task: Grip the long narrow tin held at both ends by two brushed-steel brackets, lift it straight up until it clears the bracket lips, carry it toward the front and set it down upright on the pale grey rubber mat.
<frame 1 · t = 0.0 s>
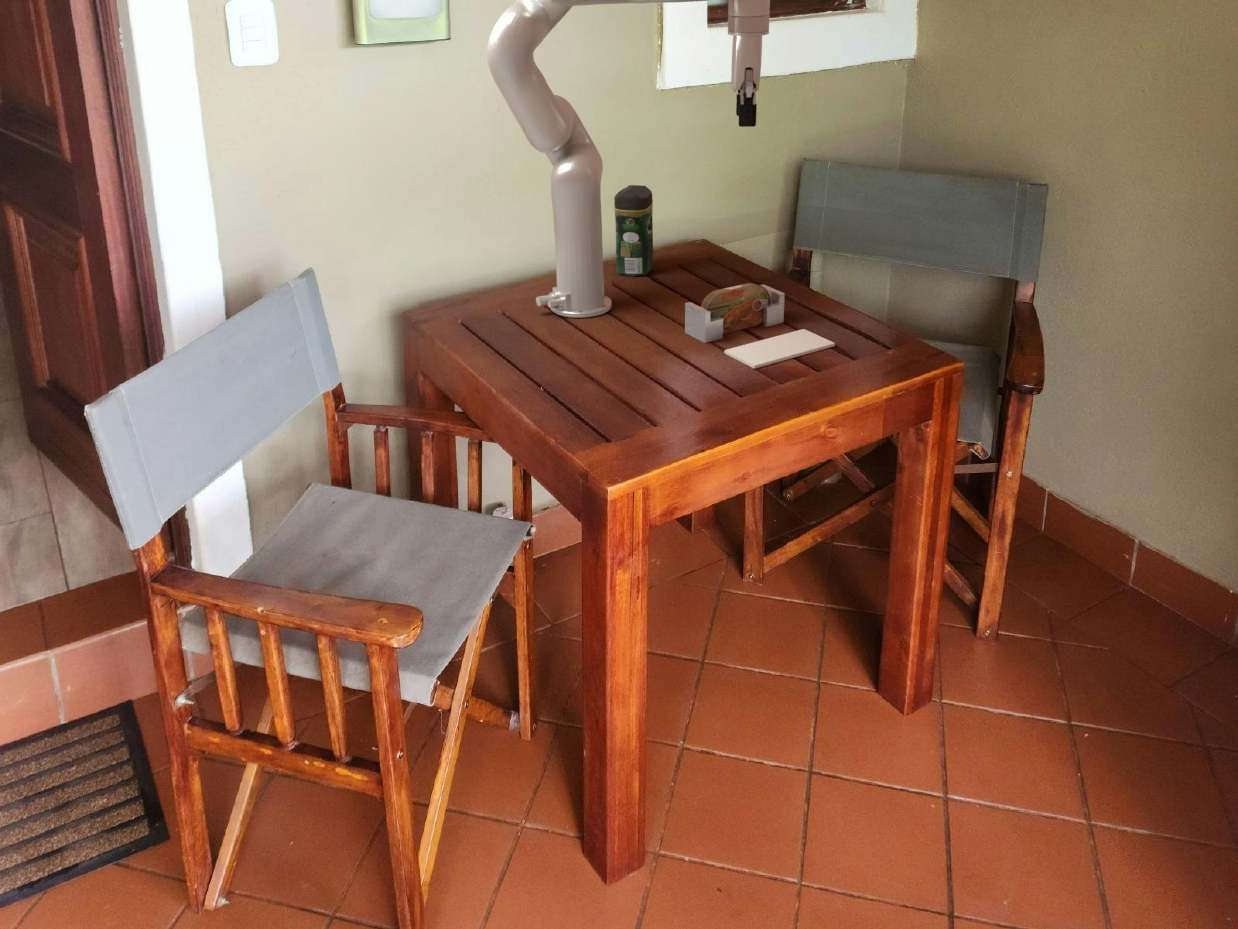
hand: (745, 120, 223), 37 cm above the table, tool pointing down, fingers open, 9 cm apart
end brackets: (734, 327, 230), on the table
mat: (779, 349, 219), on the table
coffee jar: (634, 271, 262), on the table
tin: (734, 328, 230), on the table
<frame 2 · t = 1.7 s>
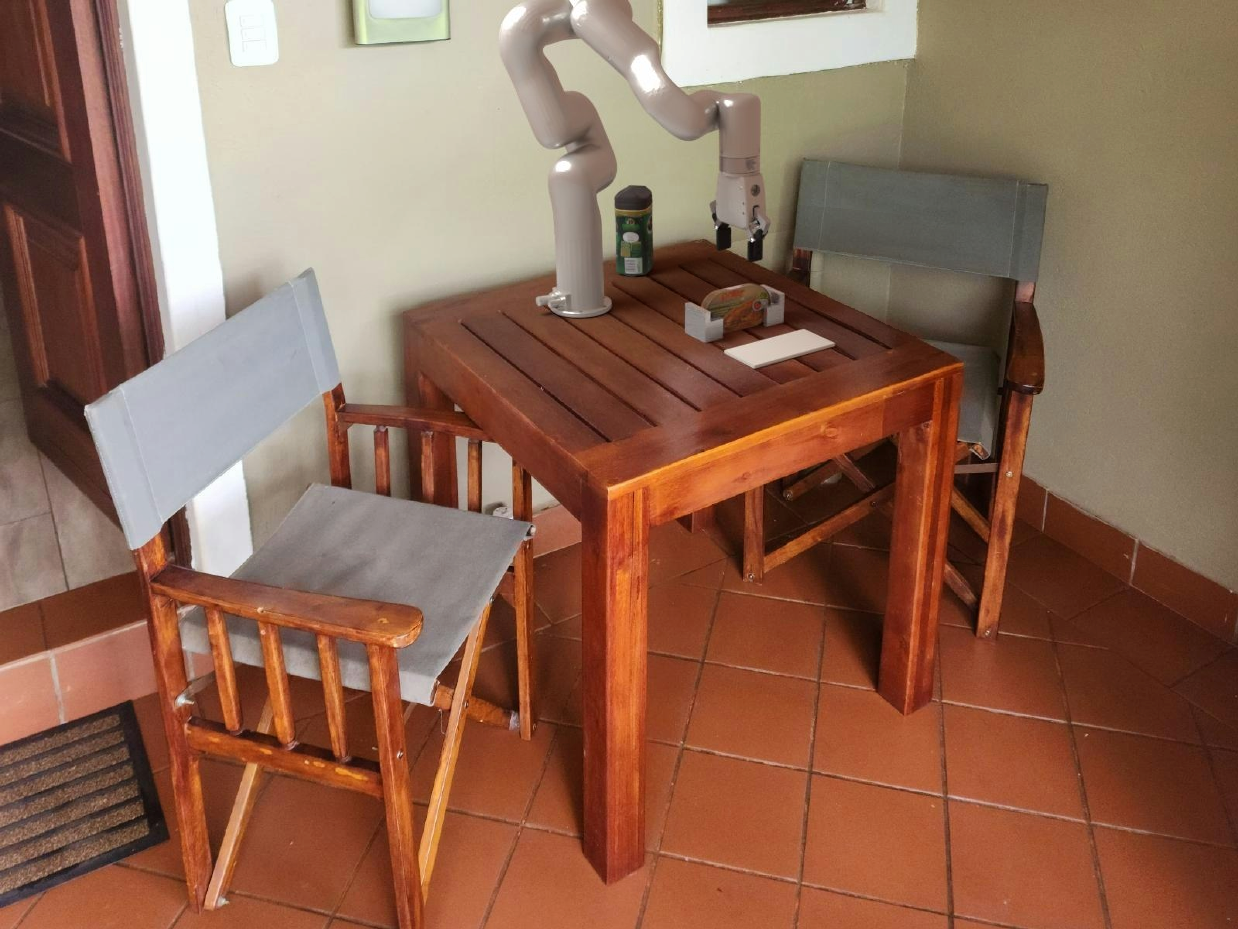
hand: (739, 254, 223), 15 cm above the table, tool pointing down, fingers open, 9 cm apart
nothing on the table moved.
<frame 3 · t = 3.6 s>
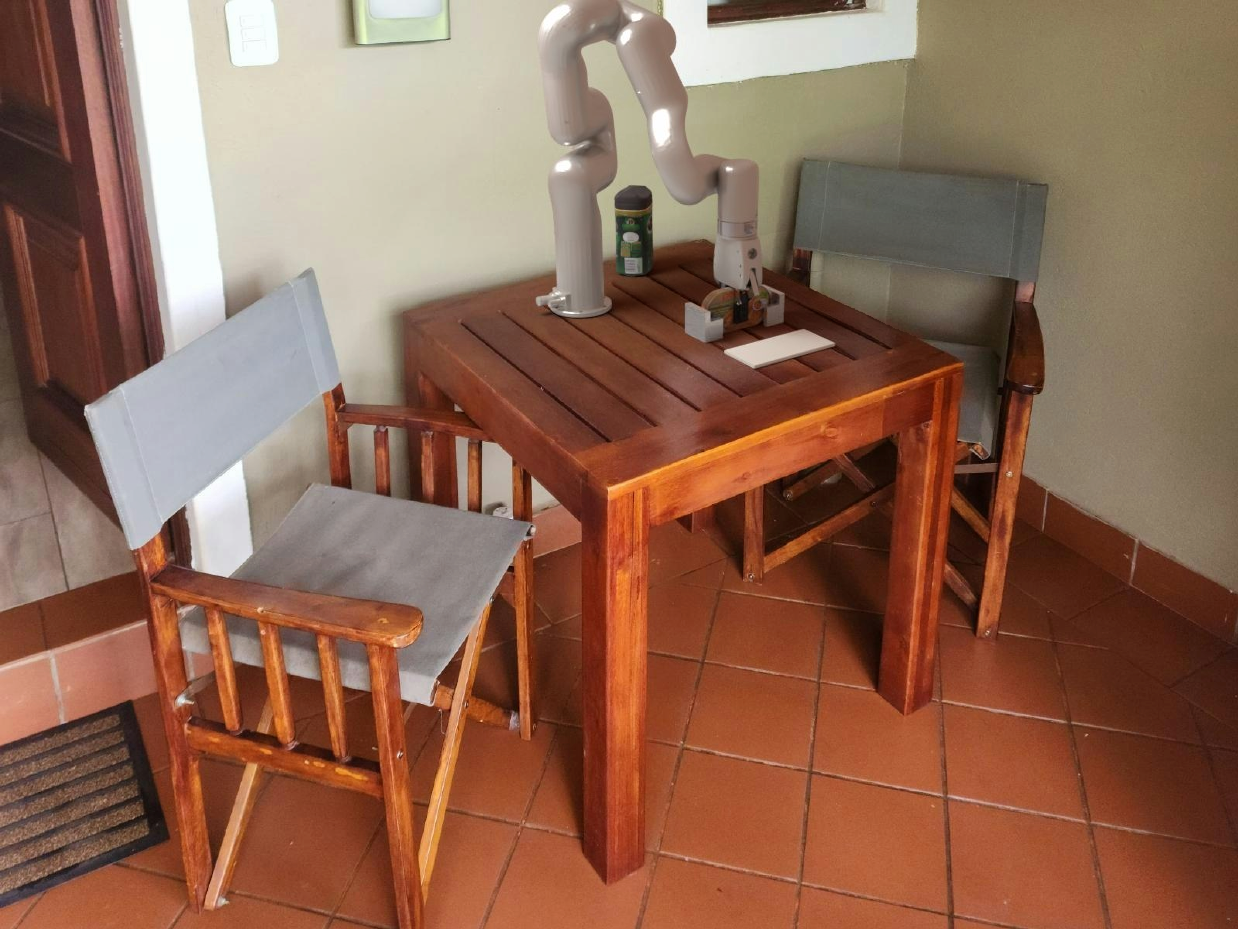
hand: (735, 318, 229), 2 cm above the table, tool pointing down, fingers closed on tin, 2 cm apart
tin: (734, 327, 230), on the table, touching gripper
everything else where it was.
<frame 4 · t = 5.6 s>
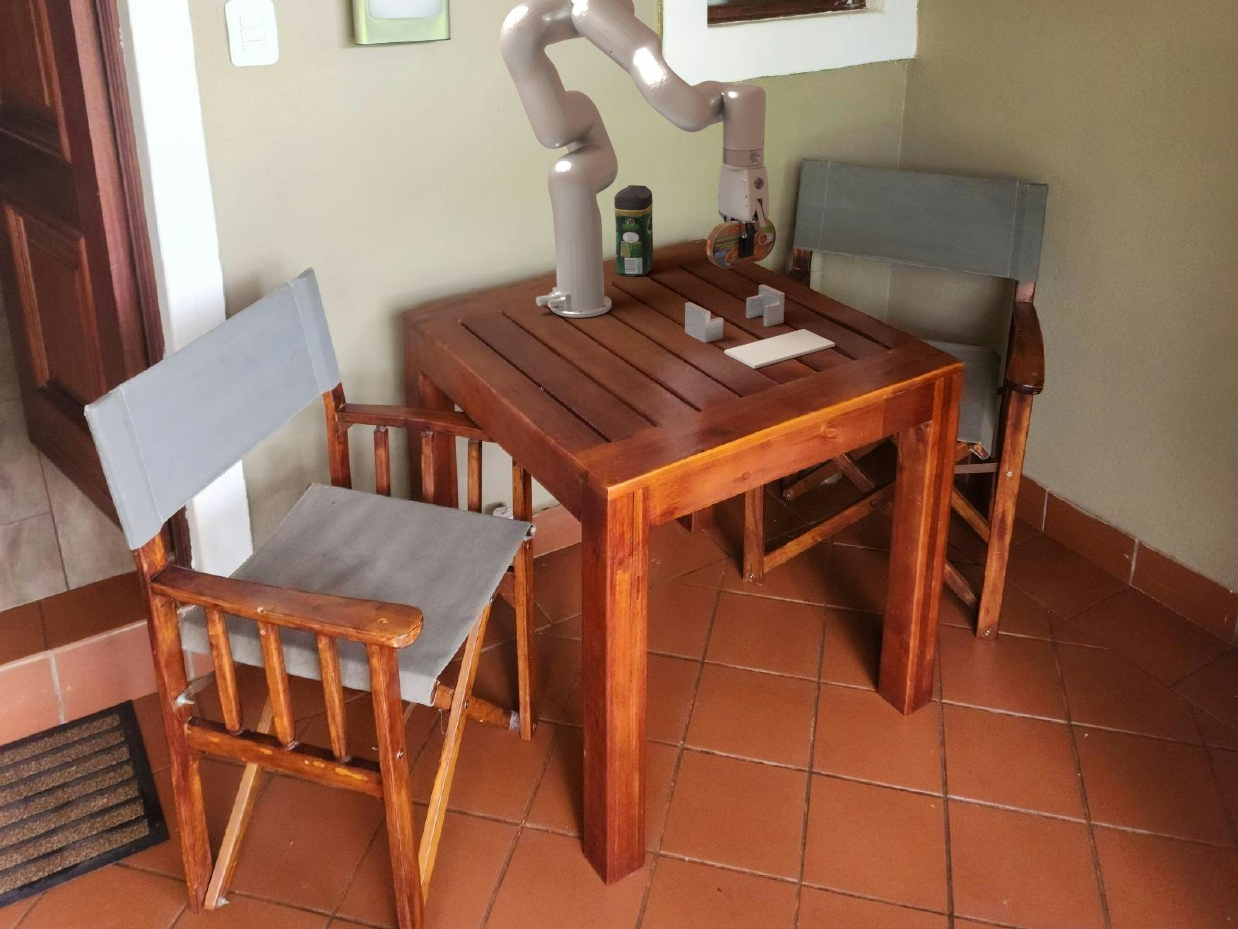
hand: (740, 253, 222), 15 cm above the table, tool pointing down, fingers closed on tin, 2 cm apart
tin: (739, 263, 223), point 13 cm above the table, touching gripper
everything else where it was.
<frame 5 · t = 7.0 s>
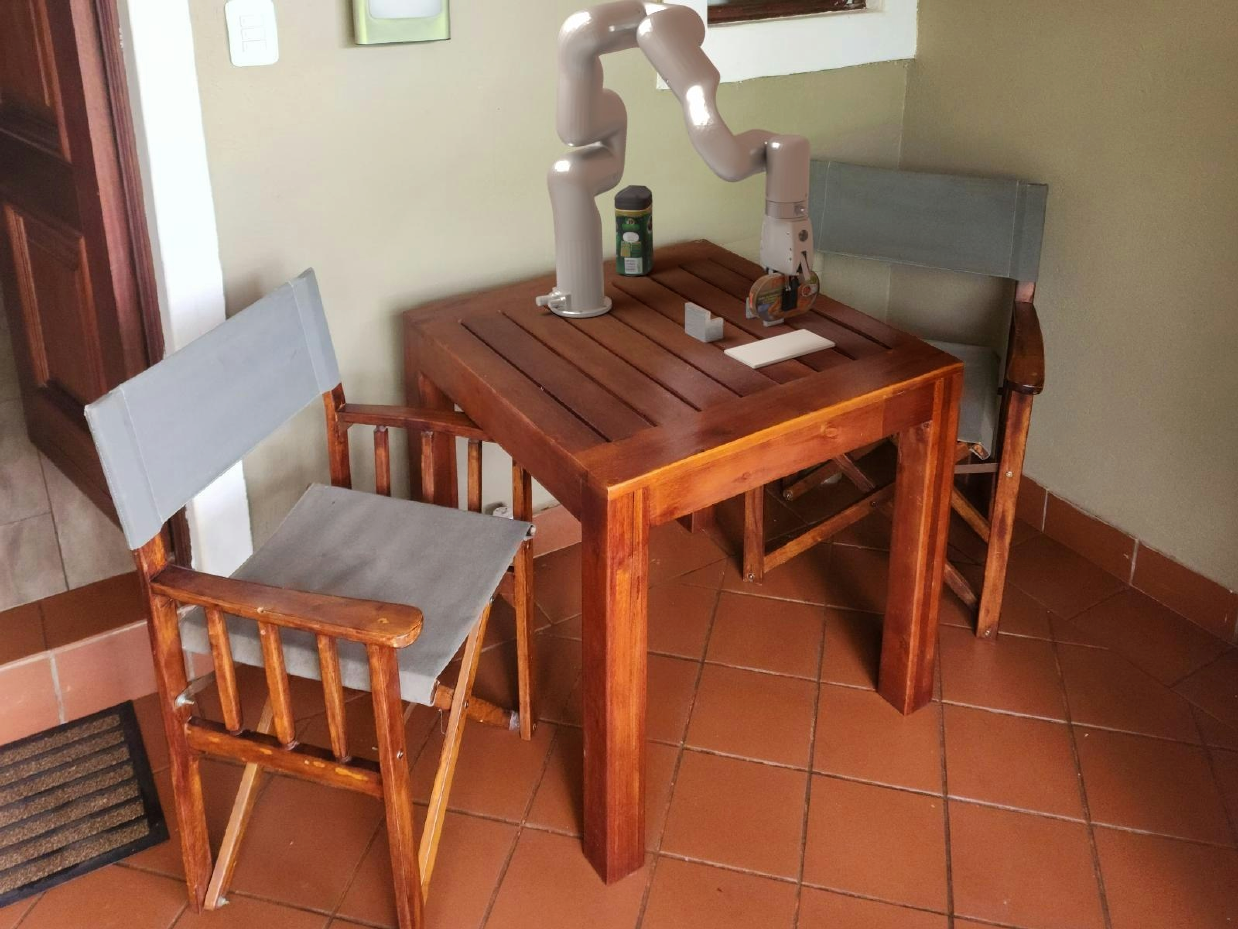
hand: (783, 306, 215), 9 cm above the table, tool pointing down, fingers closed on tin, 2 cm apart
tin: (782, 316, 216), point 7 cm above the table, touching gripper
everything else where it was.
when the fingers open (3 cm above the table, at t = 8.0 s): tin stays where it is, resting on mat.
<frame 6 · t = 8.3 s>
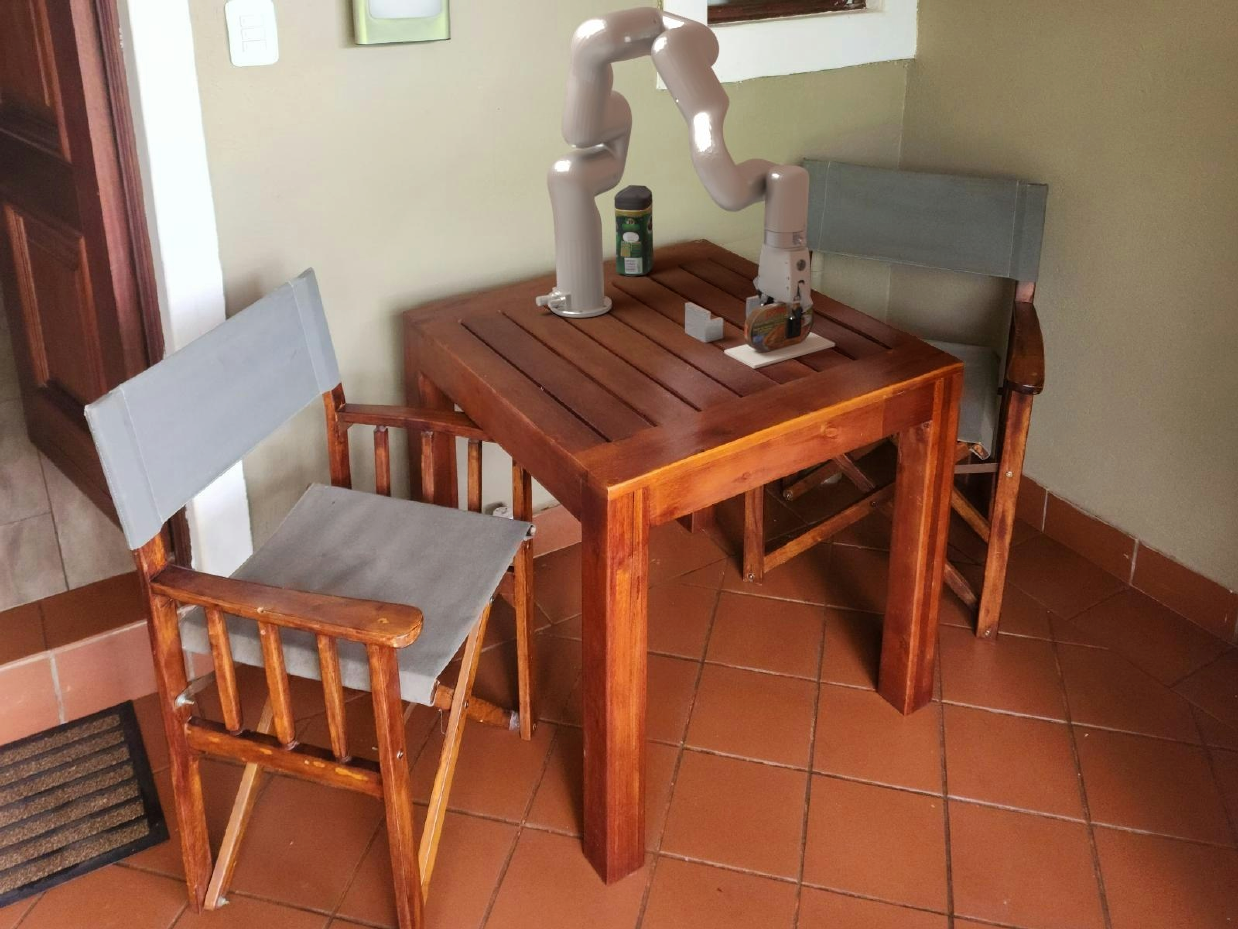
hand: (780, 330, 217), 4 cm above the table, tool pointing down, fingers open, 6 cm apart
tin: (777, 346, 219), resting on mat
everything else where it was.
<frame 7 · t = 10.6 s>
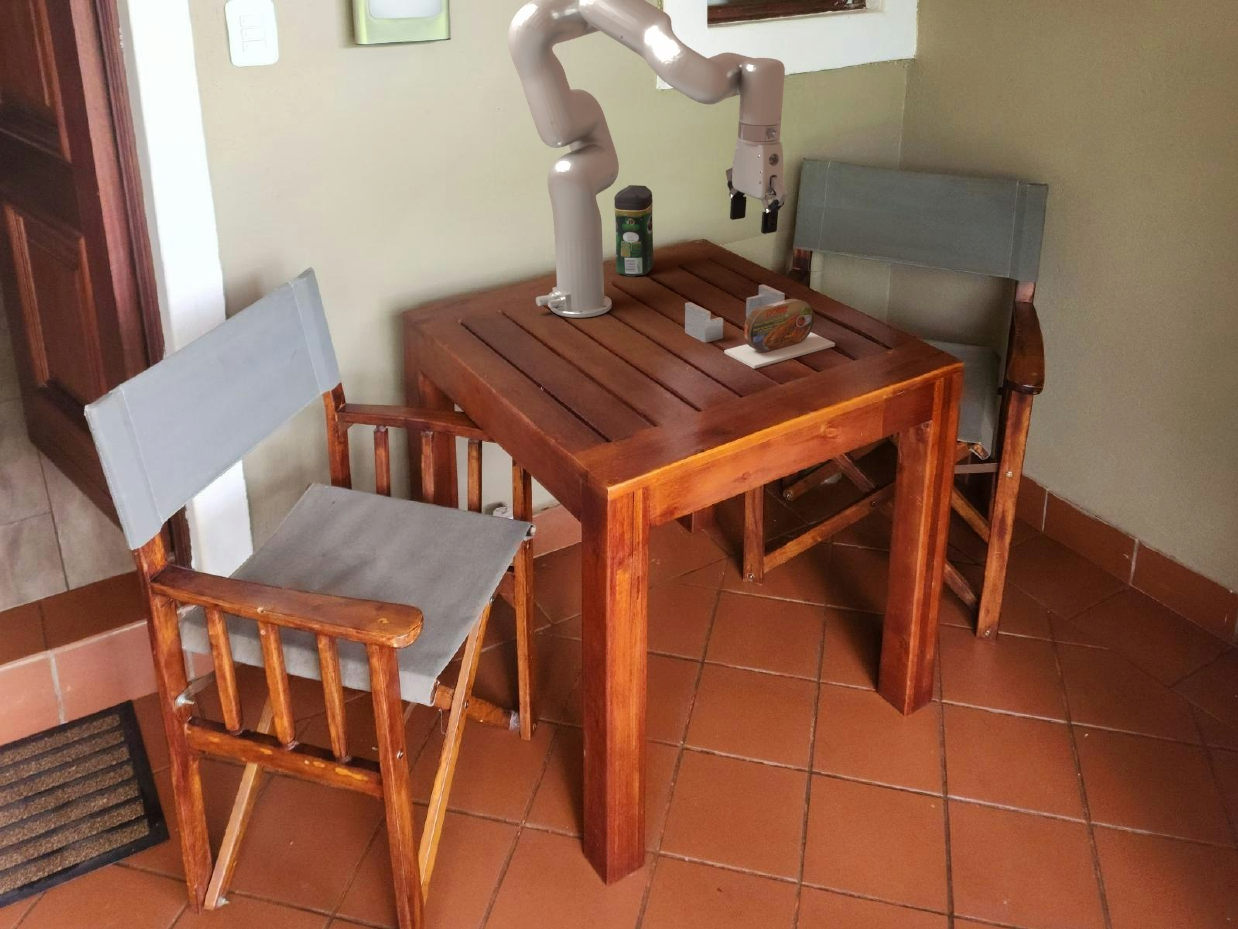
hand: (752, 225, 217), 21 cm above the table, tool pointing down, fingers open, 9 cm apart
nothing on the table moved.
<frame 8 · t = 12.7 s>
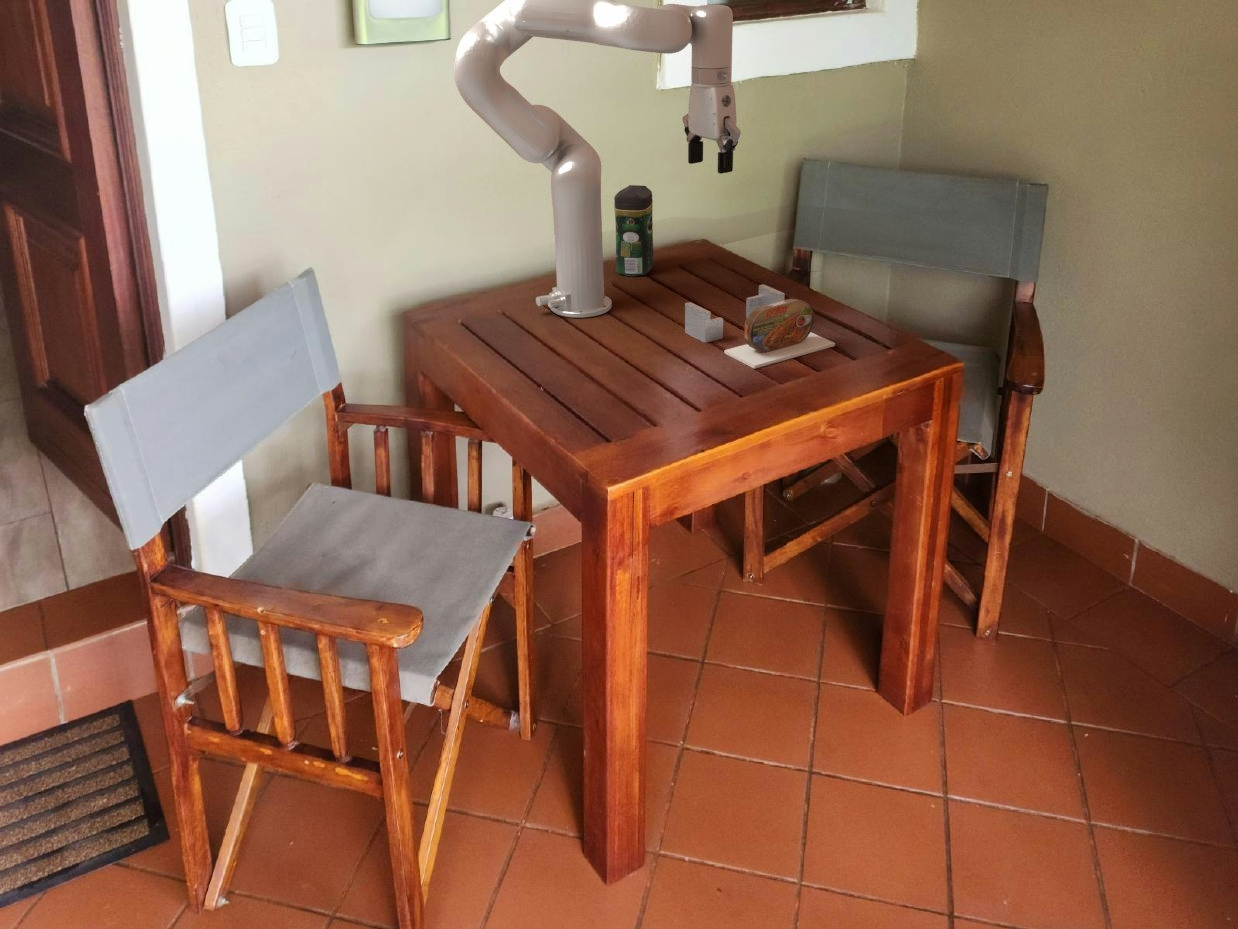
hand: (710, 167, 228), 28 cm above the table, tool pointing down, fingers open, 9 cm apart
nothing on the table moved.
at the end: tin inside the target area on the mat (0.6 cm from its centre), point 0.4 cm above the mat's base; tin tilted 0°; the gripper is holding nothing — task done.
